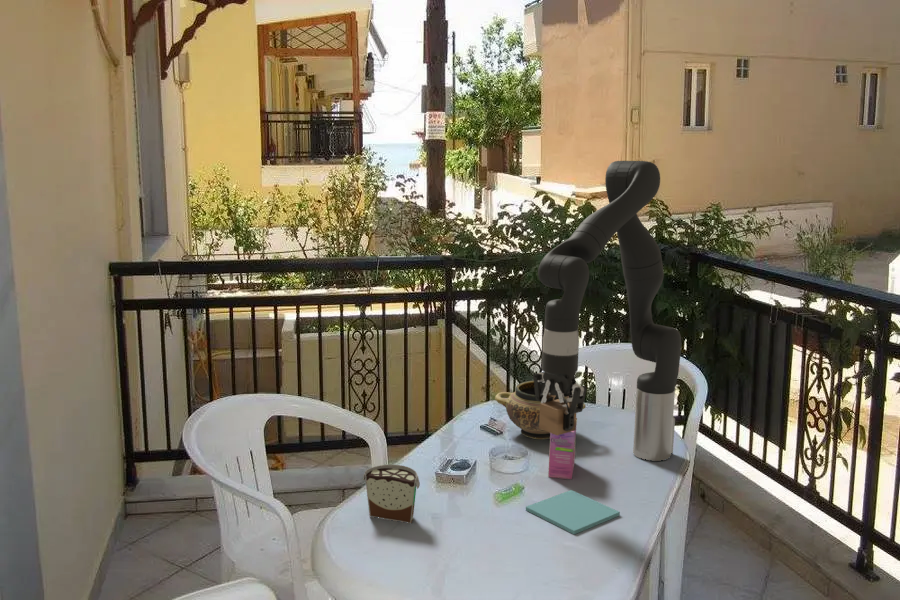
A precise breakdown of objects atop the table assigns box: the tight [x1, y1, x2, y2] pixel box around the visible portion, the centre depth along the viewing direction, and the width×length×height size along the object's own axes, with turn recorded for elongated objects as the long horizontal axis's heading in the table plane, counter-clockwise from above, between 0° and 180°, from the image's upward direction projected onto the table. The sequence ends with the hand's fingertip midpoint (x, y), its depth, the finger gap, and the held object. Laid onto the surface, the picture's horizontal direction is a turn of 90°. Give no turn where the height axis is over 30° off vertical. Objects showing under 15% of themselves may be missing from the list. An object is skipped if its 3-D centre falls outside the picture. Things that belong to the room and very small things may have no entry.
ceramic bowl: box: [494, 379, 587, 440], centre depth 227 cm, size 24×18×15 cm
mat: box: [525, 489, 621, 535], centre depth 181 cm, size 14×14×1 cm
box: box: [547, 417, 578, 480], centre depth 203 cm, size 10×6×12 cm, turn 168°
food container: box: [362, 464, 421, 524], centre depth 179 cm, size 12×6×10 cm, turn 71°
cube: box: [539, 399, 577, 435], centre depth 182 cm, size 6×6×6 cm
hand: (557, 425), depth 182 cm, fingers closed on cube, 5 cm apart
